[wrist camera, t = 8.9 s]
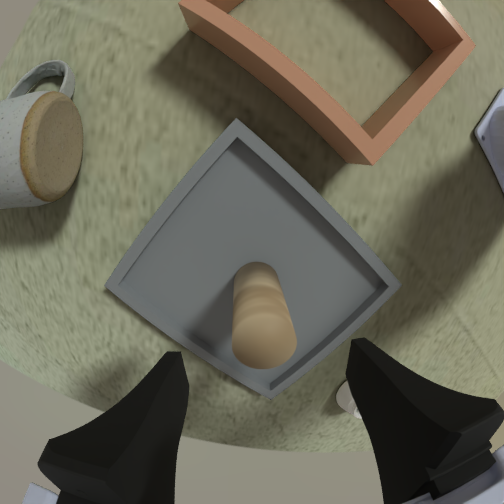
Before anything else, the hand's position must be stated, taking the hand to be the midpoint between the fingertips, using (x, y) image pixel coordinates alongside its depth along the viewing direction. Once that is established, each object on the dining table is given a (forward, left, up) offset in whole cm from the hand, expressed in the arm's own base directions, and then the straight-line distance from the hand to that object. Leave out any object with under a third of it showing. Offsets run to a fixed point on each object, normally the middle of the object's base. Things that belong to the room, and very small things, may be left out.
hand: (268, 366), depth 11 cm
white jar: (-16, +2, -10) cm, 18 cm away
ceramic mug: (+19, +2, -9) cm, 22 cm away
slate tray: (0, 0, -9) cm, 9 cm away
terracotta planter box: (+8, -17, -9) cm, 21 cm away
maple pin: (0, 0, -9) cm, 9 cm away
